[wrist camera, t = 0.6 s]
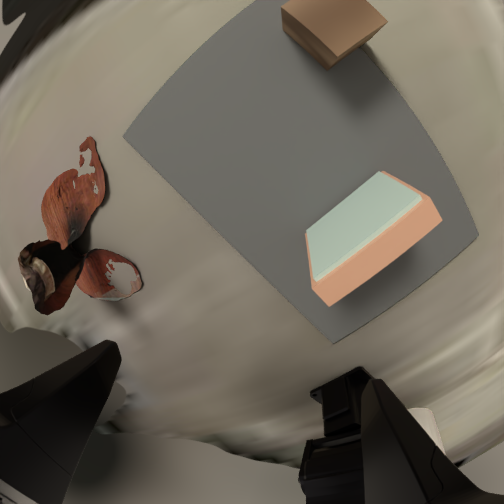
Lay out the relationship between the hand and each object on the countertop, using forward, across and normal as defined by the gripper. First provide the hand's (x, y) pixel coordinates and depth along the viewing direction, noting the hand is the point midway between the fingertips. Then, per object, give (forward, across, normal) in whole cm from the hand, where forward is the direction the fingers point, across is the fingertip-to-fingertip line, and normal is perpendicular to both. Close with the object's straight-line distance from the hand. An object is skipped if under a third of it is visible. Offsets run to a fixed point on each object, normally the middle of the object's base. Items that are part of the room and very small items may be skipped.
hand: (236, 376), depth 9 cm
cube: (+12, -3, -15) cm, 19 cm away
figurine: (+13, +16, +1) cm, 20 cm away
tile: (+12, -5, -3) cm, 14 cm away
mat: (+13, -3, -5) cm, 14 cm away
